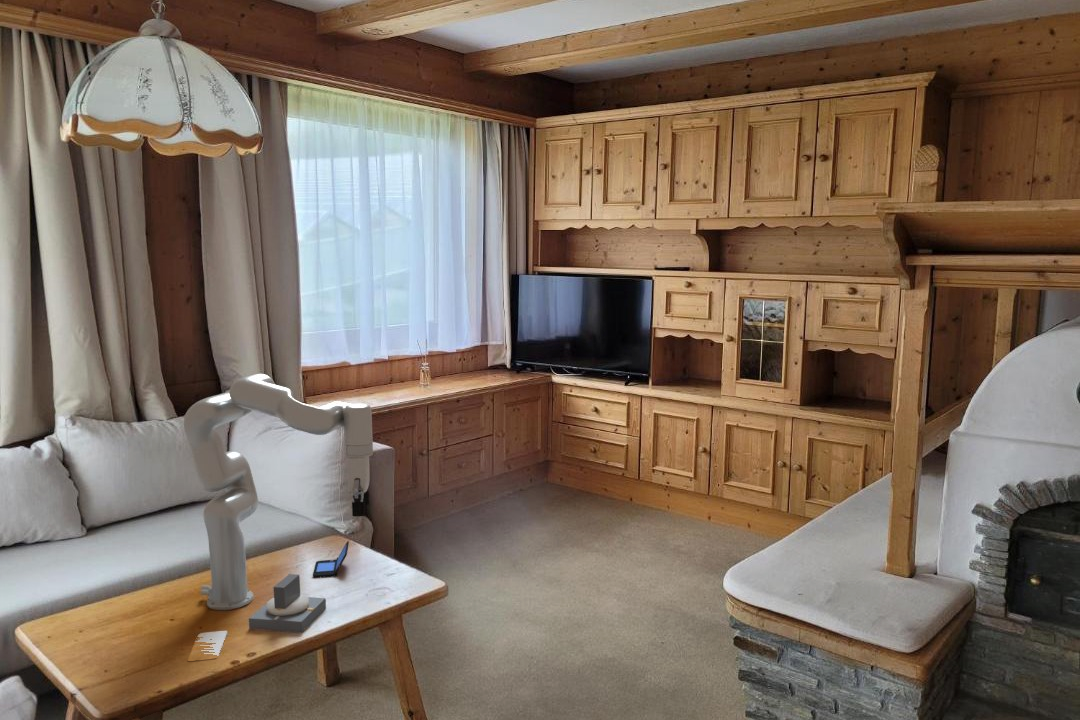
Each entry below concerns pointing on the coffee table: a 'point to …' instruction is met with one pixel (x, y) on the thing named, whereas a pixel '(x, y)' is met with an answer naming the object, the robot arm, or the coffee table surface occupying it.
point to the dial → (287, 597)
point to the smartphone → (213, 641)
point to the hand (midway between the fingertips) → (361, 510)
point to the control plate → (288, 618)
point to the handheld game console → (330, 565)
